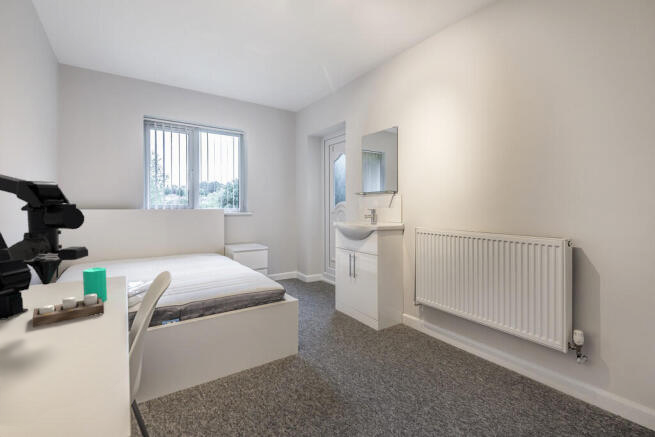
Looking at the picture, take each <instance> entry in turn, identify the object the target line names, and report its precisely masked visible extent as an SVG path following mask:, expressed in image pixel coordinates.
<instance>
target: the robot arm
mask: <svg viewBox="0 0 655 437" xmlns="http://www.w3.org/2000/svg"><path fill="white" fill-rule="evenodd" d="M0 191H1V192H6V193H9V194H13V195H16V198H17V199H19V200H20V201H22V202H25V203H26V204H25V205H23V206H22V207H21V208H20V210H21V212H26V214H27V228H28V230H27V232H24V234H23V235H22V237H23V239H22V240H20V241H17V242H16V243H14V244H12V245H10V246H8V245H7V242H6V240H5V238H4V237H3V234H2V232H1V231H0V320H5V319H6V320H7V319H9V318H12V317H15V316H17V315H20V314H22V313H25V312H28V311H29V308H24V300H23V299H24V298H23V296H22V292H23V291H27V290H29V288H30V284H31V282H32V277H33V274H32V272H31V270H32V269H33V270H34V272H35V273H36V275H37V276H38V278H39V280H40V282H41V284H42V285H45V286H47V285H49V284H50V283H51V282H52V279H53V277H54V275H55V273H56V271H57V269H58V268H59V266H60V265H61V264H62V261H76V260H80V259H83V258H86V257H89V249H88V248H87V247H86V246H69V247H65V248H63V246H62V244H59V237H58V235H62V230H63V229H64V230H77V229H79V228H81V227H82V226H83V224H84V222H85V215H84V214H83V211H82V210H81V209H79V208H77V204H76V203H71V202H70V201H69V199H68V198H67V197H66V195H65V194H64V193H63V190H62V189H61V188H60V187H59V184H58V183H57V182H55V181H42V180H38V181H37V180H25V179H22V178H17V177H13V176H9V175H6V174H5V175H4V174H1V173H0ZM58 229H59V230H58ZM61 229H62V230H61ZM29 266H30V267H31V268H32V269H31V268H30V267H29Z"/></svg>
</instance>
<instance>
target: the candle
mask: <svg viewBox="0 0 655 437" xmlns="http://www.w3.org/2000/svg"><path fill="white" fill-rule="evenodd" d="M106 268H107V267H99V266H98V267H96V265H95V264H94V266H93V267H90V268H87V269H84V270H82V281H83V282H82V284H83V297H84V296H85V295H88V294H97V298H101V300H102V302H103V303H104V302H106V301H107V300H108V292H107V291H108V289H107V269H106Z"/></svg>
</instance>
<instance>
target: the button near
mask: <svg viewBox="0 0 655 437" xmlns="http://www.w3.org/2000/svg"><path fill="white" fill-rule="evenodd" d="M54 305H55V304H54ZM54 305H53V304H51V305H50V304H48V305H44V306H40V307H38V308H39V314H44V313H50V312H54Z"/></svg>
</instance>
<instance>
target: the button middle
mask: <svg viewBox="0 0 655 437" xmlns="http://www.w3.org/2000/svg"><path fill="white" fill-rule="evenodd" d="M76 302H77V297H76V296H69V297H65V298H63V299H62V304H63V310H66V309H72V308H77V306H76Z"/></svg>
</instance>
